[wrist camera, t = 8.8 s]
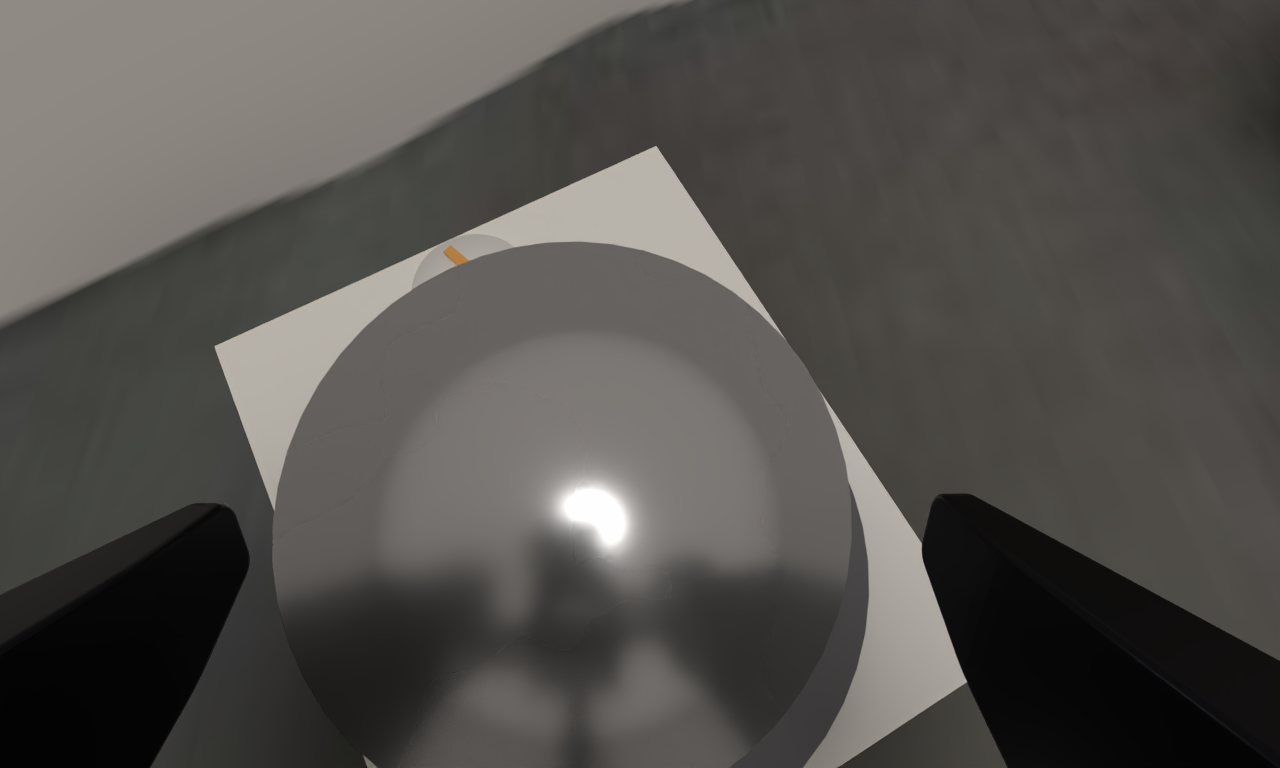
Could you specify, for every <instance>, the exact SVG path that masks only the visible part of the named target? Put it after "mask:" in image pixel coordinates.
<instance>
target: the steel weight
mask: <svg viewBox="0 0 1280 768" xmlns="http://www.w3.org/2000/svg"><path fill="white" fill-rule="evenodd" d="M851 540H852V524H851V496H850V489H849V482H848V476H847V469H846V463H845V459H844V455H843V452H842V448H841V445H840V441H839V438H838V434H837V431H836V427H835V425H834V423H833V420H832V418H831V415H830V413H829V411H828V408H827V406H826V404H825V401H824V399H823V397H822V394H821V393H820V391H819V389H818V388H817V386H816V384H815V382H814V381H813V379H812V377H811V375H810V374H809V372H808V370H807V369H806V367H805V365H804V364H803V362H802V361H801V360H800V358H799V357H798V356H797V354H796V353H795V352H794V351H793V349H792V348H791V347H790V345H789V344H788V343H787V341H786V340H785V339H784V337H783V336H782V335H781V334H780V333H779V332H778V331H777V330H776V329H775V328H774V327H773V326H772V325H771V324H770V323H769V322H768V321H767V320H766V319H765V318H764V317H763V316H762V315H761V314H760V313H759V312H758V311H757V310H755V309H754V308H753V307H752V306H750V305H749V304H748V303H747V302H745V301H744V300H743V299H742V298H740V297H739V296H738V295H737V294H735V293H734V292H733V291H731V290H729V289H728V288H726V287H725V286H723V285H721V284H720V283H718V282H716V281H715V280H713V279H712V278H710V277H708V276H707V275H705V274H703V273H701V272H699V271H696V270H694V269H692V268H690V267H688V266H686V265H683V264H681V263H679V262H677V261H675V260H672V259H668V258H665V257H662V256H659V255H656V254H653V253H650V252H647V251H644V250H639V249H634V248H629V247H624V246H619V245H614V244H604V243H592V242H580V241H579V242H548V243H540V244H534V245H527V246H520V247H514V248H510V249H506V250H502V251H499V252H495V253H491V254H487V255H484V256H480V257H478V258H475V259H473V260H470V261H468V262H465V263H463V264H460V265H457V266H455V267H452V268H450V269H448V270H446V271H444V272H442V273H440V274H439V275H437V276H435V277H433V278H431V279H429V280H427V281H425V282H423V283H422V284H420V285H418V286H417V287H415V288H414V289H412V290H411V291H410V292H408V293H407V294H405V295H404V296H402V297H401V298H399V299H398V300H396V301H395V302H393V303H392V304H391V305H390V306H388V307H387V308H386V309H385V310H384V311H383V312H381V313H380V314H379V315H378V316H377V317H376V318H375V319H373V320H372V321H371V322H370V323H369V324H368V325H367V326H365V327H364V328H363V329H362V331H361V332H360V333H359V334H358V335H357V336H356V337H355V338H354V339H353V340H352V342H351V343H350V344H349V345H348V346H347V347H346V348H345V349H344V350H343V351H342V352H341V354H340V355H339V356H338V358H337V359H336V361H335V362H334V363H333V365H332V366H331V368H330V369H329V370H328V372H327V373H326V374H325V376H324V377H323V379H322V380H321V381H320V383H319V385H318V386H317V388H316V390H315V392H314V394H313V395H312V397H311V399H310V401H309V403H308V404H307V406H306V408H305V410H304V412H303V414H302V415H301V418H300V420H299V423H298V425H297V428H296V430H295V433H294V435H293V438H292V440H291V443H290V445H289V448H288V450H287V454H286V457H285V461H284V465H283V469H282V473H281V476H280V480H279V484H278V488H277V496H276V503H275V511H274V518H273V543H272V565H273V572H274V580H275V588H276V595H277V603H278V607H279V610H280V614H281V618H282V621H283V625H284V629H285V632H286V636H287V640H288V643H289V645H290V647H291V650H292V652H293V654H294V657H295V659H296V661H297V664H298V666H299V668H300V670H301V673H302V675H303V677H304V680H305V681H306V683H307V684H308V686H309V688H310V689H311V691H312V693H313V694H314V696H315V697H316V699H317V701H318V702H319V704H320V705H321V707H322V709H323V710H324V712H325V713H326V715H327V716H328V717H329V718H330V720H331V721H332V722H333V723H334V724H335V726H336V727H337V728H338V729H339V730H340V731H341V733H342V734H343V735H344V736H345V737H346V738H347V740H348V741H349V742H350V743H351V744H352V746H353V747H355V748H356V749H357V750H358V751H359V752H360V753H361V754H363V755H364V756H365V757H366V758H367V759H368V760H370V761H371V762H372V763H373V764H374V765H375V766H376V767H378V768H729V767H731V766H732V765H733V764H735V763H736V762H737V761H739V760H740V759H741V758H743V757H744V756H745V755H747V754H748V752H749V751H750V750H751V749H752V748H753V747H754V746H755V745H756V744H757V743H758V742H759V741H760V740H761V739H762V738H763V737H764V736H765V735H766V734H767V733H768V732H769V731H770V730H771V729H772V728H773V727H774V726H775V725H776V724H777V723H778V722H779V721H780V719H781V718H782V717H783V715H784V714H785V713H786V711H787V710H788V709H789V707H790V706H791V705H792V703H793V702H794V701H795V699H796V698H797V697H798V695H799V694H800V693H801V691H802V690H803V688H804V686H805V685H806V683H807V681H808V679H809V678H810V676H811V674H812V672H813V670H814V669H815V667H816V665H817V663H818V661H819V660H820V658H821V656H822V654H823V652H824V649H825V647H826V644H827V642H828V639H829V637H830V634H831V632H832V629H833V627H834V624H835V622H836V619H837V616H838V613H839V609H840V605H841V601H842V597H843V593H844V589H845V585H846V581H847V576H848V567H849V558H850V549H851Z"/></svg>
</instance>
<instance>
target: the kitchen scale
mask: <svg viewBox="0 0 1280 768" xmlns="http://www.w3.org/2000/svg"><path fill="white" fill-rule="evenodd" d="M579 241H580V242H592V243H604V244H614V245H619V246H624V247H629V248H634V249H639V250H644V251H647V252H650V253H653V254H656V255H659V256H662V257H665V258H668V259H672V260H675V261H677V262H679V263H681V264H683V265H686V266H688V267H690V268H692V269H694V270H696V271H699V272H701V273H703V274H705V275H707V276H708V277H710V278H712V279H713V280H715V281H716V282H718V283H720V284H721V285H723V286H725V287H726V288H728V289H729V290H731V291H733V292H734V293H735V294H737V295H738V296H739V297H740V298H742V299H743V300H744V301H745V302H747V303H748V304H749V305H750V306H752V307H753V308H754V309H755V310H757V311H758V312H759V313H760V314H761V315H762V316H763V317H764V318H765V319H766V320H767V321H768V322H769V323H770V324H771V325H772V326H773V327H774V328H775V329H776V330H777V331H778V332H779V333H780V334H781V332H780V331H779V329H778V328H777V326H776V325H775V323H774V322H773V320H772V319H771V317H770V316H769V314H768V313H767V311H766V310H765V308H764V307H763V305H762V304H761V302H760V301H759V299H758V298H757V296H756V295H755V293H754V292H753V290H752V289H751V287H750V286H749V284H748V283H747V281H746V280H745V278H744V277H743V275H742V274H741V272H740V271H739V269H738V268H737V266H736V265H735V263H734V262H733V260H732V259H731V257H730V256H729V254H728V253H727V251H726V250H725V248H724V247H723V245H722V244H721V242H720V241H719V239H718V238H717V236H716V235H715V233H714V232H713V230H712V229H711V227H710V226H709V224H708V223H707V221H706V220H705V218H704V217H703V215H702V214H701V212H700V211H699V209H698V208H697V206H696V205H695V203H694V202H693V200H692V199H691V197H690V196H689V194H688V193H687V191H686V190H685V188H684V187H683V185H682V184H681V182H680V181H679V179H678V178H677V176H676V175H675V173H674V172H673V170H672V169H671V167H670V166H669V164H668V163H667V161H666V160H665V158H664V157H663V155H662V154H661V152H660V151H659V149H658V148H657V146H655V147H653V148H651V149H649V150H646V151H644V152H642V153H640V154H638V155H635V156H633V157H631V158H629V159H627V160H624V161H622V162H620V163H618V164H616V165H613V166H611V167H609V168H607V169H605V170H602V171H600V172H598V173H596V174H594V175H591V176H589V177H587V178H585V179H582V180H580V181H578V182H576V183H574V184H571V185H569V186H567V187H565V188H563V189H560V190H558V191H556V192H554V193H552V194H549V195H547V196H545V197H543V198H541V199H538V200H536V201H534V202H532V203H530V204H527V205H525V206H523V207H521V208H519V209H516V210H514V211H512V212H510V213H507V214H505V215H503V216H501V217H499V218H496V219H494V220H492V221H490V222H488V223H485V224H483V225H481V226H479V227H477V228H474V229H472V230H470V231H468V232H466V233H463V234H461V235H459V236H457V237H455V238H452V239H450V240H448V241H446V242H444V243H441V244H439V245H437V246H435V247H433V248H430V249H428V250H426V251H424V252H421V253H419V254H417V255H415V256H413V257H410V258H408V259H406V260H404V261H402V262H399V263H397V264H395V265H393V266H391V267H388V268H386V269H384V270H382V271H380V272H377V273H375V274H373V275H371V276H369V277H366V278H364V279H362V280H360V281H358V282H355V283H353V284H351V285H349V286H346V287H344V288H342V289H340V290H338V291H335V292H333V293H331V294H329V295H327V296H324V297H322V298H320V299H318V300H316V301H313V302H311V303H309V304H307V305H305V306H302V307H300V308H298V309H296V310H294V311H291V312H289V313H287V314H285V315H283V316H280V317H278V318H276V319H274V320H272V321H269V322H267V323H265V324H263V325H260V326H258V327H256V328H254V329H252V330H249V331H247V332H245V333H243V334H241V335H238V336H236V337H234V338H232V339H230V340H227V341H225V342H223V343H221V344H219V345H216V346H214V347H215V349H216V352H217V355H218V358H219V360H220V363H221V366H222V369H223V371H224V374H225V377H226V380H227V382H228V385H229V388H230V391H231V393H232V396H233V399H234V402H235V404H236V407H237V410H238V413H239V415H240V418H241V421H242V424H243V426H244V429H245V432H246V435H247V437H248V440H249V443H250V446H251V448H252V451H253V454H254V457H255V459H256V462H257V465H258V468H259V470H260V473H261V476H262V479H263V481H264V484H265V487H266V490H267V493H268V495H269V498H270V501H271V504H272V506H273V509H274V511H275V503H276V496H277V488H278V484H279V480H280V476H281V473H282V469H283V465H284V461H285V457H286V454H287V450H288V448H289V445H290V443H291V440H292V438H293V435H294V433H295V430H296V428H297V425H298V423H299V420H300V418H301V415H302V414H303V412H304V410H305V408H306V406H307V404H308V403H309V401H310V399H311V397H312V395H313V394H314V392H315V390H316V388H317V386H318V385H319V383H320V381H321V380H322V379H323V377H324V376H325V374H326V373H327V372H328V370H329V369H330V368H331V366H332V365H333V363H334V362H335V361H336V359H337V358H338V356H339V355H340V354H341V352H342V351H343V350H344V349H345V348H346V347H347V346H348V345H349V344H350V343H351V342H352V340H353V339H354V338H355V337H356V336H357V335H358V334H359V333H360V332H361V331H362V329H363V328H364V327H365V326H367V325H368V324H369V323H370V322H371V321H372V320H373V319H375V318H376V317H377V316H378V315H379V314H380V313H381V312H383V311H384V310H385V309H386V308H387V307H388V306H390V305H391V304H392V303H393V302H395V301H396V300H398V299H399V298H401V297H402V296H404V295H405V294H407V293H408V292H410V291H411V290H412V289H414V288H415V287H417V286H418V285H420V284H422V283H423V282H425V281H427V280H429V279H431V278H433V277H435V276H437V275H439V274H440V273H442V272H444V271H446V270H448V269H450V268H452V267H455V266H457V265H460V264H463V263H465V262H468V261H470V260H473V259H475V258H478V257H480V256H484V255H487V254H491V253H495V252H499V251H502V250H506V249H510V248H514V247H520V246H527V245H534V244H540V243H548V242H579ZM781 335H782V334H781ZM782 336H783V335H782ZM784 339H785V338H784ZM820 393H821V392H820ZM822 397H823V395H822ZM823 399H824V401H825V404H826V406H827V408H828V411H829V413H830V415H831V418H832V420H833V423H834V425H835V427H836V431H837V434H838V438H839V441H840V445H841V448H842V452H843V455H844V459H845V463H846V469H847V476H848V482H849V489H850V496H851V524H852V540H851V549H850V558H849V567H848V576H847V581H846V585H845V589H844V593H843V597H842V601H841V605H840V609H839V613H838V616H837V619H836V622H835V624H834V627H833V629H832V632H831V634H830V637H829V639H828V642H827V644H826V647H825V649H824V652H823V654H822V656H821V658H820V660H819V661H818V663H817V665H816V667H815V669H814V670H813V672H812V674H811V676H810V678H809V679H808V681H807V683H806V685H805V686H804V688H803V690H802V691H801V693H800V694H799V695H798V697H797V698H796V699H795V701H794V702H793V703H792V705H791V706H790V707H789V709H788V710H787V711H786V713H785V714H784V715H783V717H782V718H781V719H780V721H779V722H778V723H777V724H776V725H775V726H774V727H773V728H772V729H771V730H770V731H769V732H768V733H767V734H766V735H765V736H764V737H763V738H762V739H761V740H760V741H759V742H758V743H757V744H756V745H755V746H754V747H753V748H752V749H751V750H750V751H749V752H748V754H747V755H745V756H744V757H743V758H741V759H740V760H739V761H737V762H736V763H735V764H733V765H732V766H731V767H729V768H838V767H839V766H841V765H842V764H844V763H845V762H847V761H848V760H850V759H851V758H853V757H855V756H856V755H858V754H859V753H861V752H862V751H864V750H865V749H867V748H868V747H870V746H871V745H873V744H874V743H876V742H877V741H879V740H880V739H882V738H883V737H885V736H886V735H888V734H889V733H891V732H892V731H894V730H895V729H897V728H898V727H900V726H901V725H903V724H904V723H906V722H907V721H909V720H910V719H912V718H913V717H915V716H916V715H918V714H919V713H921V712H922V711H924V710H925V709H927V708H928V707H930V706H931V705H933V704H934V703H936V702H937V701H939V700H940V699H942V698H944V697H945V696H947V695H948V694H950V693H951V692H953V691H954V690H956V689H957V688H959V687H960V686H962V685H963V684H965V683H966V682H967V681H966V679H965V677H964V674H963V672H962V669H961V667H960V664H959V662H958V659H957V657H956V654H955V651H954V648H953V645H952V643H951V640H950V637H949V634H948V631H947V628H946V626H945V623H944V620H943V617H942V614H941V611H940V609H939V606H938V603H937V600H936V597H935V594H934V592H933V589H932V586H931V583H930V580H929V577H928V575H927V572H926V569H925V566H924V563H923V559H922V543H921V542H920V540H919V539H918V537H917V536H916V534H915V533H914V531H913V530H912V528H911V527H910V525H909V524H908V522H907V521H906V519H905V518H904V516H903V515H902V513H901V512H900V510H899V509H898V507H897V506H896V504H895V503H894V501H893V500H892V498H891V497H890V495H889V494H888V492H887V491H886V489H885V488H884V486H883V485H882V483H881V482H880V480H879V479H878V477H877V476H876V474H875V473H874V471H873V470H872V468H871V467H870V465H869V464H868V462H867V461H866V459H865V458H864V456H863V455H862V453H861V452H860V450H859V449H858V447H857V446H856V444H855V443H854V441H853V440H852V438H851V437H850V436H849V434H848V433H847V431H846V430H845V428H844V427H843V425H842V424H841V422H840V421H839V419H838V418H837V416H836V415H835V413H834V412H833V410H832V409H831V407H830V406H829V404H828V403H827V401H826V400H825V398H824V397H823ZM363 757H364V759H365V762H366V765H367V768H378V767H376V766H375V765H374V764H373V763H372V762H371V761H370V760H368V759H367V758H366V757H365V756H364V755H363Z"/></svg>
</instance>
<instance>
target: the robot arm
mask: <svg viewBox="0 0 1280 768" xmlns="http://www.w3.org/2000/svg"><path fill="white" fill-rule="evenodd" d="M922 559H923V563H924V566H925V569H926V572H927V575H928V577H929V580H930V583H931V586H932V589H933V592H934V594H935V597H936V600H937V603H938V606H939V609H940V611H941V614H942V617H943V620H944V623H945V626H946V628H947V631H948V634H949V637H950V640H951V643H952V645H953V648H954V651H955V654H956V657H957V659H958V662H959V664H960V667H961V669H962V672H963V674H964V677H965V679H966V681H967V683H968V685H969V688H970V690H971V692H972V694H973V696H974V698H975V701H976V703H977V705H978V707H979V709H980V711H981V713H982V715H983V717H984V719H985V721H986V724H987V726H988V728H989V730H990V732H991V734H992V736H993V738H994V740H995V742H996V745H997V747H998V749H999V751H1000V753H1001V755H1002V757H1003V759H1004V761H1005V763H1006V765H1007V768H1280V661H1279V660H1277V659H1275V658H1273V657H1271V656H1270V655H1268V654H1266V653H1264V652H1262V651H1260V650H1259V649H1257V648H1255V647H1253V646H1251V645H1249V644H1247V643H1246V642H1244V641H1242V640H1240V639H1238V638H1236V637H1234V636H1233V635H1231V634H1229V633H1227V632H1225V631H1223V630H1221V629H1220V628H1218V627H1216V626H1214V625H1212V624H1210V623H1209V622H1207V621H1205V620H1203V619H1201V618H1199V617H1197V616H1196V615H1194V614H1192V613H1190V612H1188V611H1186V610H1184V609H1183V608H1181V607H1179V606H1177V605H1175V604H1173V603H1171V602H1170V601H1168V600H1166V599H1164V598H1162V597H1160V596H1159V595H1157V594H1155V593H1153V592H1151V591H1149V590H1147V589H1146V588H1144V587H1142V586H1140V585H1138V584H1136V583H1134V582H1133V581H1131V580H1129V579H1127V578H1125V577H1123V576H1121V575H1120V574H1118V573H1116V572H1114V571H1112V570H1110V569H1109V568H1107V567H1105V566H1103V565H1101V564H1099V563H1097V562H1096V561H1094V560H1092V559H1090V558H1088V557H1086V556H1084V555H1083V554H1081V553H1079V552H1077V551H1075V550H1073V549H1072V548H1070V547H1068V546H1066V545H1064V544H1062V543H1060V542H1059V541H1057V540H1055V539H1053V538H1051V537H1049V536H1047V535H1046V534H1044V533H1042V532H1040V531H1038V530H1036V529H1035V528H1033V527H1031V526H1029V525H1027V524H1025V523H1023V522H1022V521H1020V520H1018V519H1016V518H1014V517H1012V516H1010V515H1009V514H1007V513H1005V512H1003V511H1001V510H999V509H998V508H996V507H994V506H992V505H990V504H988V503H986V502H985V501H983V500H981V499H979V498H977V497H975V496H973V495H971V494H940V495H938V496H936V497H935V499H934V500H933V502H932V505H931V509H930V513H929V517H928V521H927V525H926V529H925V533H924V537H923V542H922ZM249 562H250V558H249V551H248V548H247V545H246V543H245V540H244V537H243V534H242V531H241V529H240V526H239V523H238V520H237V517H236V515H235V512H234V510H233V509H232V508H231V507H230V506H229V505H227V504H224V503H196V504H191V505H188V506H186V507H184V508H182V509H180V510H178V511H175V512H173V513H171V514H169V515H167V516H165V517H163V518H161V519H159V520H157V521H154V522H152V523H150V524H148V525H146V526H144V527H142V528H140V529H138V530H135V531H133V532H131V533H129V534H127V535H125V536H123V537H121V538H119V539H117V540H114V541H112V542H110V543H108V544H106V545H104V546H102V547H100V548H98V549H95V550H93V551H91V552H89V553H87V554H85V555H83V556H81V557H79V558H77V559H74V560H72V561H70V562H68V563H66V564H64V565H62V566H60V567H58V568H55V569H53V570H51V571H49V572H47V573H45V574H43V575H41V576H39V577H37V578H34V579H32V580H30V581H28V582H26V583H24V584H22V585H20V586H18V587H15V588H13V589H11V590H9V591H7V592H5V593H3V594H1V595H0V768H150V767H151V765H152V764H153V762H154V760H155V758H156V757H157V755H158V753H159V751H160V750H161V748H162V746H163V744H164V742H165V741H166V739H167V737H168V735H169V734H170V732H171V730H172V728H173V727H174V725H175V723H176V721H177V720H178V718H179V716H180V714H181V713H182V711H183V709H184V707H185V706H186V704H187V702H188V700H189V698H190V696H191V694H192V693H193V691H194V689H195V687H196V685H197V683H198V681H199V679H200V677H201V675H202V673H203V671H204V669H205V667H206V664H207V662H208V660H209V658H210V655H211V653H212V651H213V649H214V646H215V644H216V642H217V640H218V638H219V635H220V633H221V631H222V629H223V626H224V624H225V622H226V620H227V617H228V615H229V613H230V611H231V608H232V606H233V604H234V602H235V599H236V597H237V595H238V593H239V590H240V588H241V586H242V584H243V582H244V579H245V577H246V575H247V572H248V568H249Z"/></svg>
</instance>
